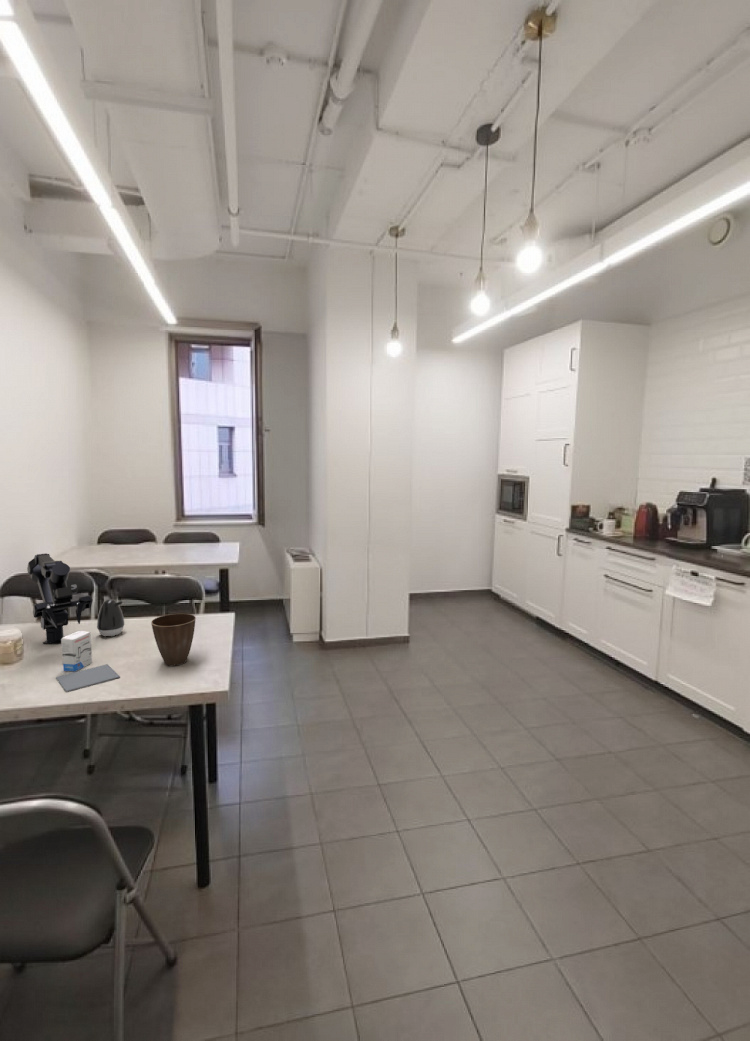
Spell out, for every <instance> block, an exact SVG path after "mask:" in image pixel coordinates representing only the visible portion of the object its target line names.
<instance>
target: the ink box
mask: <svg viewBox="0 0 750 1041" xmlns="http://www.w3.org/2000/svg"><path fill="white" fill-rule="evenodd" d="M91 640H92V639H91V632H90V631H84V630H78V631H75V632H73V633H70V634H67V635H66V636H64V637H63V638H62V639H61V643H60V644H61V653H62V655H61V656H62V667H63V668H62V669H63V672H77V671H80V670H81V669H83V668H85V667H87V666H88V665H90V664H92V663H93V658H92V657H93V655H92V641H91Z"/></svg>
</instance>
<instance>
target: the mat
mask: <svg viewBox="0 0 750 1041" xmlns="http://www.w3.org/2000/svg"><path fill="white" fill-rule="evenodd" d="M120 678H121V676H120V674H118V673H117V672H116V671H115V669H113V668H112V667H111V666H110V665H109V664H108V663H106V664H102V665H98V666H95V667H90V668H87V669H82V670H81V669H80V670H77V671H72V672H70V673H66V674H63V675H62V674H61V675H57V676H55V679H56V681H57V682H58V681H59V682H58V683H59V685H60V686H61V685H62V686H61V688H64V689H63V690H64V691H65V692H66V693H70V692H73V691H77V690H80V688H81V689H83V688H87V686H88V687H92V686H95V685H99V684H102V683H106V682H109V681H113V680H117V679H120ZM91 685H92V686H91ZM69 691H70V692H69Z"/></svg>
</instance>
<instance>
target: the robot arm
mask: <svg viewBox="0 0 750 1041" xmlns="http://www.w3.org/2000/svg"><path fill="white" fill-rule="evenodd" d="M26 568H27V575H29V576H30V579H31V581H33V582H35V583H37V585H38V588H39V593H40V596H41V598H42V602H39V603H34V605H33V608H32V614H33V618H40V617H41V618H40V627H41V629H42V630H44V631H45V636H46V638H45V640H44V641H43V642H42V644H44V645H45V644H47V645H48V644H53V645H54V644H62V643H61V639H62V638H63V637H65V636H64V626H68V625H69V616H70V613H69V612H68V611H67V610H66V608H67V609H68V608H73V607H76V609H75V615H76V621H77V624H78V625H80V624H81V619H82V613H83V612H84V611H85V610H86V609H90V608H91V607H92V604H93V597H92V596H91V595H89V594H88V595H81V596H79V598H78V600H73V598H74V597H73V595H75V594H78V592H79V590H78V589H79V588H78V585H77V584H76V583H75V584H71V585H70V586H68V584H67V581H68V579H69V575H70V571H71V567H70V566H69V565H68V564H67V563H65V562H63V561H62V560H54V559H53V557H51V555H50V553H39V554H38V553H37V554H35V555H34V557H33V559H31V560H30V561H28V564H27V567H26ZM72 600H73V601H72Z"/></svg>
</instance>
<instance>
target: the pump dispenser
mask: <svg viewBox="0 0 750 1041" xmlns="http://www.w3.org/2000/svg"><path fill="white" fill-rule="evenodd" d="M102 602H103V603H102V604H101V606H100V607H99V612H98V616H97V622H96V623H97V624H96V628H97V630H98V632H99V634H100V635H101V636H103V637H106V636H111V637H115V635H116V636H118V635H119V634H121V633H122V632H123V630H124V627H125V619H124V614H123V611H122V609H121V607H120V605H122V604H123V603H124V602H123V601H122V600H120V601H118V602H117V601H116V600H115V599H113V598H107V599H106V600H104V601H102Z"/></svg>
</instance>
